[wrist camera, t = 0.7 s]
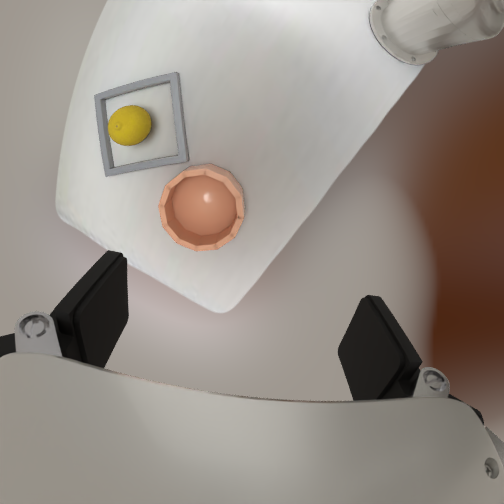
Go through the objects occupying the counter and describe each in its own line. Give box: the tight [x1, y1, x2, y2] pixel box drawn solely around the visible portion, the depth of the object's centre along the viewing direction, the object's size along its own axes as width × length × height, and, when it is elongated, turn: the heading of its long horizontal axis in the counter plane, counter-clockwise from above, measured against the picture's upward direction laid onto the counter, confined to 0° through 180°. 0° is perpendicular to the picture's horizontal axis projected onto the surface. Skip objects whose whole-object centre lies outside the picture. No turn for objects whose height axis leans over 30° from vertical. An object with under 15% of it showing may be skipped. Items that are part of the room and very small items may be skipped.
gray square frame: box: [94, 72, 189, 177], centre depth 35 cm, size 13×13×2 cm
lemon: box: [108, 105, 151, 146], centre depth 32 cm, size 6×6×8 cm
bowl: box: [158, 164, 245, 251], centre depth 39 cm, size 11×11×4 cm
